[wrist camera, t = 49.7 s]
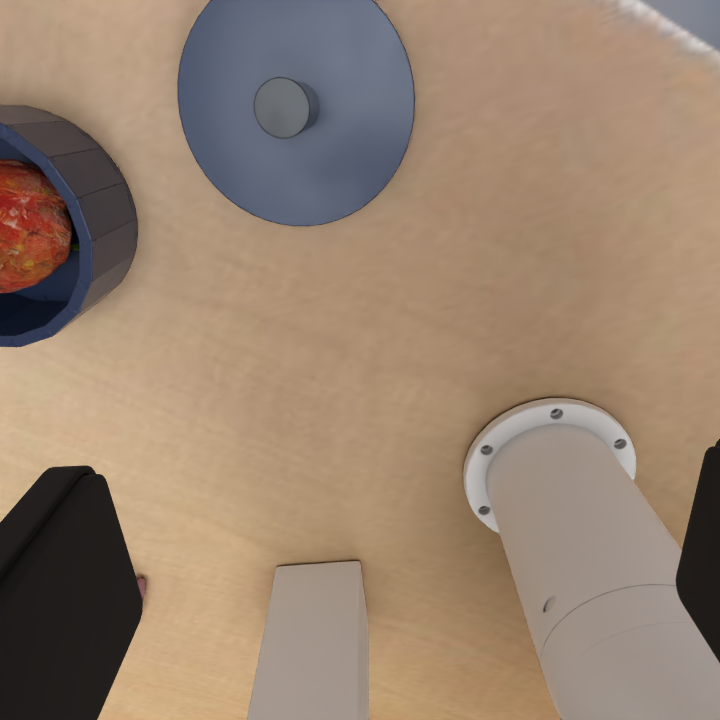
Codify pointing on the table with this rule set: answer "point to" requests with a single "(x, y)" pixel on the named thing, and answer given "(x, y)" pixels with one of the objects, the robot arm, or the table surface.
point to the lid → (296, 105)
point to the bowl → (88, 222)
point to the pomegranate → (30, 226)
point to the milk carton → (314, 646)
